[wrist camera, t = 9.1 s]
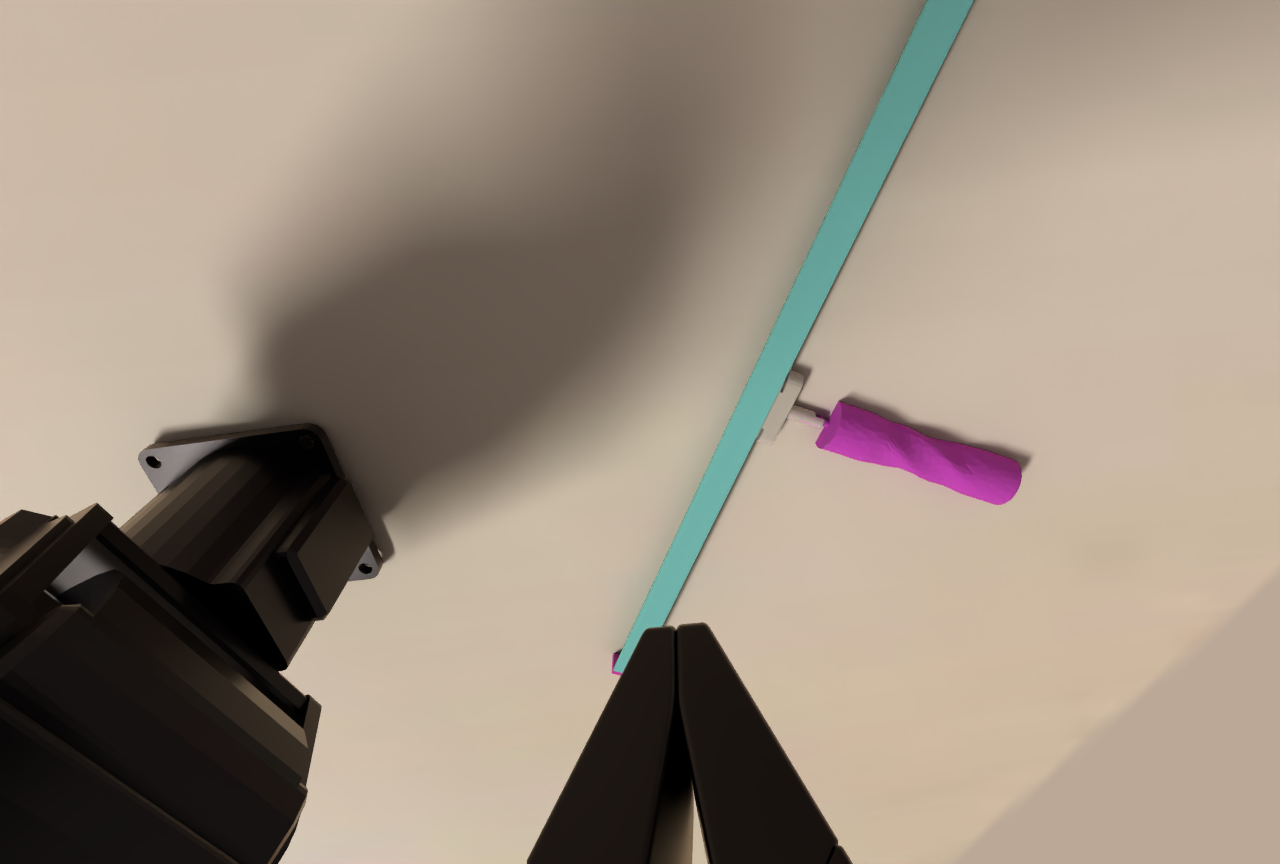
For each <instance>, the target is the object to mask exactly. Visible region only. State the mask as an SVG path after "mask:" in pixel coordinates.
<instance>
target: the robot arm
mask: <svg viewBox="0 0 1280 864" xmlns="http://www.w3.org/2000/svg"><path fill="white" fill-rule="evenodd" d="M305 436H309V437H311V438H312V439H313V440H314V442H315V443H312V442H310V441H308V440H307V439H306V438H305ZM154 456H155V457H157V458H158V459H159V460H160V461H161V462H160V461H158V460H157V459H156V458H155V457H154ZM138 460H139V463H140V465H141V466H142V468H143V470H144V471H145V473H146V474H147V476H148V478H149V479H150V481H151V483H152V484H153V486H154V487H155V489H156V491H157V492H158V495H157V496H156V497H154V498H153V499H152V500H151V501H150V502H149V503H148V504H147V505H145V506H144V507H143V508H142V509H141V510H140V511H139V512H137V513H136V514H135V515H134V516H133V517H132V518H131V519H129V520H128V521H127V522H126V523H125V524H124V525H123V526H121V527H120V528H118V527H117V526H116V525H115V524H114V523H113V522H111V520H112V519H113V517H112V516H111V515H110V514H109V513H108V512H107V511H106V510H104V509H103V508H102V507H101V506H100V505H99V504H98V503H95V504H93V505H91V506H89V507H87V508H86V509H84V510H82V511H80V512H78V513H76V514H74V515H72V516H70V517H68V516H67V515H65V516H62V517H60V518H59V517H58V516H57V515H55V516H53V517H51V516H47V515H43V514H38V513H34V512H30V511H26V510H20V511H18V512H16V513H14V514H12V515H11V516H9V517H7V518H5V519H4V520H2V521H1V522H0V864H278V863H279V861H280V860H281V858H282V856H283V855H284V853H285V851H286V850H287V848H288V846H289V843H290V841H291V839H292V837H293V835H294V833H295V830H296V827H297V824H298V820H299V817H300V814H301V812H302V810H303V808H304V806H305V803H306V798H307V792H308V790H307V787H306V783H307V778H308V773H309V768H310V763H311V758H312V753H313V748H314V743H315V738H316V733H317V728H318V723H319V718H320V713H321V705H320V704H319V703H318V702H317V701H316V700H315V699H313V698H312V697H311V696H310V695H304V694H303V693H301V692H300V691H299V690H298V689H297V688H296V687H295V686H294V685H293V684H291V683H290V682H289V681H288V680H287V679H286V678H285V677H284V676H283V675H281V674H280V673H279V672H278V671H283V670H286V669H287V667H288V666H289V664H290V662H291V661H292V659H293V657H294V656H295V654H296V652H297V651H298V649H299V647H300V646H301V644H302V642H303V641H304V639H305V637H306V636H307V634H308V632H309V631H310V629H311V627H312V626H313V624H314V622H315V621H320V620H324V619H325V618H326V617H327V615H328V614H329V612H330V611H331V609H332V607H333V606H334V604H335V602H336V600H337V599H338V597H339V595H340V594H341V592H342V590H343V588H344V587H345V585H346V583H347V582H348V581H355V580H364V579H371V578H375V577H376V576H377V575H378V573H379V571H380V570H381V568H382V565H383V563H382V559H381V557H380V555H379V552H378V550H377V548H376V546H375V543H374V541H373V533H372V531H371V529H370V526H369V524H368V522H367V520H366V517H365V515H364V513H363V511H362V508H361V506H360V504H359V501H358V499H357V497H356V495H355V492H354V490H353V488H352V486H351V483H350V482H349V481H348V480H347V479H346V478H345V475H344V473H343V471H342V469H341V466H340V464H339V462H338V459H337V457H336V455H335V453H334V450H333V448H332V446H331V444H330V441H329V439H328V437H327V435H326V433H325V432H324V430H323V429H322V428H320V427H319V426H317V425H315V424H311V423H305V424H298V425H290V426H283V427H275V428H268V429H260V430H253V431H245V432H238V433H230V434H223V435H215V436H208V437H200V438H193V439H185V440H178V441H170V442H163V443H155V444H152V445H149V446H148V447H147V448H145V449H144V450H143V451H141V453H140V454H139V456H138ZM364 563H365V564H368V565H370V566H371V567H368V566H366V565H365V564H364ZM693 790H694V795H693ZM694 796H695V801H696V806H697V812H698V817H699V822H700V827H701V832H702V837H703V842H704V847H705V852H706V857H707V863H708V864H853V863H852V862H851V860H850V858H849V857H848V855H847V853H846V852H845V850H844V849H843V847H842V846H838V839H837V838H836V836H835V834H834V833H833V831H832V829H831V828H830V826H829V824H828V823H827V821H826V819H825V818H824V816H823V814H822V813H821V811H820V809H819V808H818V806H817V804H816V803H815V801H814V799H813V798H812V796H811V795H810V793H809V791H808V790H807V788H806V786H805V785H804V783H803V781H802V780H801V778H800V776H799V775H798V773H797V771H796V770H795V768H794V766H793V765H792V763H791V761H790V760H789V758H788V756H787V755H786V753H785V751H784V750H783V748H782V746H781V745H780V743H779V741H778V740H777V738H776V737H775V735H774V733H773V732H772V730H771V728H770V727H769V725H768V723H767V722H766V720H765V718H764V717H763V715H762V713H761V712H760V710H759V708H758V707H757V705H756V703H755V702H754V700H753V698H752V697H751V695H750V693H749V692H748V690H747V688H746V687H745V685H744V684H743V682H742V680H741V679H740V677H739V675H738V674H737V672H736V670H735V669H734V667H733V665H732V664H731V662H730V660H729V659H728V657H727V655H726V654H725V652H724V650H723V649H722V647H721V645H720V644H719V642H718V640H717V639H716V637H715V635H714V634H713V632H712V631H711V629H710V627H709V626H708V625H707V624H706V623H692V624H682V625H679V626H678V627H677V630H676V629H675V628H674V627H673V626H662V627H652V628H647V629H646V630H645V631H644V632H643V634H642V635H641V637H640V639H639V641H638V643H637V645H636V647H635V649H634V651H633V653H632V655H631V657H630V659H629V661H628V663H627V665H626V667H625V669H624V671H623V673H622V675H621V677H620V679H619V681H618V683H617V684H616V686H615V688H614V690H613V692H612V694H611V696H610V698H609V700H608V702H607V704H606V706H605V708H604V710H603V712H602V714H601V716H600V718H599V720H598V722H597V724H596V726H595V728H594V730H593V732H592V734H591V736H590V738H589V740H588V741H587V743H586V745H585V747H584V749H583V751H582V753H581V755H580V757H579V759H578V761H577V763H576V765H575V767H574V769H573V771H572V773H571V775H570V777H569V779H568V781H567V783H566V785H565V787H564V789H563V791H562V793H561V795H560V796H559V798H558V800H557V802H556V804H555V806H554V808H553V810H552V812H551V814H550V816H549V818H548V820H547V822H546V824H545V826H544V828H543V830H542V832H541V834H540V836H539V838H538V840H537V842H536V844H535V846H534V848H533V850H532V852H531V853H530V855H529V857H528V859H527V864H692V848H693V817H694Z"/></svg>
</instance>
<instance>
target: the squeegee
mask: <svg viewBox="0 0 1280 864" xmlns="http://www.w3.org/2000/svg"><path fill="white" fill-rule="evenodd" d="M973 1H974V0H927V1H926V3H925V5H924V7H923V10H922V12H921V14H920V16H919V18H918V20H917V22H916V25H915V27H914V29H913V31H912V33H911V35H910V37H909V39H908V42H907V44H906V46H905V48H904V50H903V52H902V54H901V56H900V59H899V61H898V63H897V65H896V67H895V69H894V71H893V74H892V76H891V78H890V80H889V82H888V84H887V86H886V88H885V91H884V93H883V95H882V97H881V99H880V101H879V103H878V105H877V108H876V110H875V112H874V114H873V116H872V118H871V120H870V123H869V125H868V127H867V129H866V131H865V133H864V135H863V137H862V140H861V142H860V144H859V146H858V148H857V150H856V152H855V154H854V157H853V159H852V161H851V163H850V165H849V167H848V169H847V172H846V174H845V176H844V178H843V180H842V182H841V184H840V186H839V189H838V191H837V193H836V195H835V197H834V199H833V201H832V203H831V206H830V208H829V210H828V212H827V214H826V216H825V218H824V221H823V223H822V225H821V227H820V229H819V231H818V233H817V235H816V238H815V240H814V242H813V244H812V246H811V248H810V250H809V253H808V255H807V257H806V259H805V261H804V263H803V265H802V267H801V270H800V272H799V274H798V276H797V278H796V280H795V282H794V284H793V287H792V289H791V291H790V293H789V295H788V297H787V299H786V302H785V304H784V306H783V308H782V310H781V312H780V314H779V316H778V319H777V321H776V323H775V325H774V327H773V329H772V331H771V333H770V336H769V338H768V340H767V342H766V344H765V346H764V348H763V351H762V353H761V355H760V357H759V359H758V361H757V363H756V365H755V368H754V370H753V372H752V374H751V376H750V378H749V380H748V382H747V385H746V387H745V389H744V391H743V393H742V395H741V397H740V400H739V402H738V404H737V406H736V408H735V410H734V412H733V414H732V417H731V419H730V421H729V423H728V425H727V427H726V429H725V431H724V434H723V436H722V438H721V440H720V442H719V444H718V446H717V449H716V451H715V453H714V455H713V457H712V459H711V461H710V463H709V466H708V468H707V470H706V472H705V474H704V476H703V478H702V480H701V483H700V485H699V487H698V489H697V491H696V493H695V495H694V498H693V500H692V502H691V504H690V506H689V508H688V510H687V512H686V515H685V517H684V519H683V521H682V523H681V525H680V527H679V529H678V532H677V534H676V536H675V538H674V540H673V542H672V544H671V547H670V549H669V551H668V553H667V555H666V557H665V559H664V561H663V564H662V566H661V568H660V570H659V572H658V574H657V576H656V579H655V581H654V583H653V585H652V587H651V589H650V591H649V593H648V596H647V598H646V600H645V602H644V604H643V606H642V608H641V610H640V613H639V615H638V617H637V619H636V621H635V623H634V625H633V628H632V630H631V632H630V634H629V636H628V638H627V640H626V642H625V645H624V647H623V649H622V651H621V653H620V654H616V653H614V654H613V661H612V673H613V674H617V675H622V673H623V671H624V669H625V667H626V665H627V663H628V661H629V659H630V657H631V655H632V653H633V651H634V649H635V647H636V645H637V643H638V641H639V639H640V637H641V635H642V634H643V632H644V631H645V630H646V629H647V628H652V627H662V625H663V623H664V621H665V619H666V617H667V615H668V613H669V611H670V609H671V607H672V605H673V603H674V601H675V599H676V597H677V595H678V593H679V591H680V589H681V587H682V585H683V583H684V581H685V579H686V577H687V575H688V573H689V571H690V569H691V567H692V565H693V563H694V561H695V559H696V557H697V555H698V553H699V551H700V549H701V547H702V545H703V543H704V541H705V539H706V537H707V535H708V533H709V531H710V529H711V527H712V525H713V523H714V521H715V519H716V517H717V515H718V513H719V511H720V509H721V507H722V505H723V503H724V501H725V499H726V497H727V495H728V493H729V491H730V489H731V487H732V485H733V483H734V481H735V479H736V477H737V475H738V473H739V471H740V469H741V467H742V465H743V463H744V461H745V459H746V457H747V455H748V453H749V451H750V449H751V447H752V445H753V444H754V443H755V442H756V441H758V442H761V443H764V444H767V445H772V444H773V442H774V441H775V439H776V437H777V435H778V433H779V431H780V429H781V427H782V426H783V424H784V422H785V420H786V418H787V419H790V420H793V421H796V422H799V423H802V424H805V425H808V426H813V427H817V428H821V427H822V426H824V428H823V430H822V432H821V434H820V435H819V437H818V439H817V441H816V445H817V447H818V448H821V449H824V450H828V451H831V452H834V453H838V454H841V455H844V456H846V457H849V458H852V459H855V460H859V461H864V462H869V463H875V464H879V465H883V466H889V467H897V468H901V469H903V470H906V471H908V472H911V473H913V474H915V475H917V476H918V477H920V478H922V479H925V480H927V481H930V482H933V483H937V484H940V485H943V486H946V487H948V488H950V489H952V490H954V491H957V492H959V493H961V494H964V495H967V496H970V497H973V498H976V499H980V500H983V501H986V502H989V503H992V504H995V505H1001V504H1005V503H1006V502H1008V501H1009V500H1011V499H1012V498H1013V497H1014V495H1015V494H1016V492H1017V491H1018V489H1019V486H1020V483H1021V478H1022V476H1021V468H1020V465H1019V464H1018V462H1017V461H1016V460H1012V459H1009V458H1007V457H1004V456H1001V455H998V454H995V453H992V452H989V451H986V450H983V449H979V448H974V447H970V446H966V445H963V444H959V443H955V442H949V441H943V440H939V439H934V438H930V437H927V436H924V435H922V434H920V433H918V432H916V431H915V430H913V429H911V428H909V427H907V426H905V425H902V424H898V423H894V422H891V421H888V420H886V419H884V418H882V417H880V416H878V415H877V414H874V413H872V412H869V411H866V410H863V409H860V408H857V407H854V406H851V405H848V404H845V403H842V402H840V401H838V403H837V405H836V407H835V409H834V410H833V412H832V414H831V416H830V417H829V419H828V420H825V419H824V418H823V417H822V416H819V415H816V414H815V412H814V411H811V410H808V409H805V408H802V407H799V406H796V405H793V404H794V402H795V400H796V398H797V396H798V394H799V393H800V391H801V388H802V385H803V382H804V377H803V375H802V374H801V373H798V372H795V371H792V370H791V369H792V367H791V366H792V364H793V362H794V360H795V358H796V356H797V354H798V352H799V350H800V348H801V346H802V344H803V342H804V340H805V338H806V336H807V334H808V332H809V330H810V328H811V326H812V324H813V322H814V320H815V318H816V316H817V314H818V312H819V310H820V308H821V306H822V304H823V302H824V300H825V298H826V296H827V294H828V292H829V290H830V288H831V286H832V284H833V282H834V280H835V278H836V276H837V274H838V272H839V270H840V268H841V266H842V264H843V262H844V260H845V258H846V256H847V254H848V252H849V250H850V248H851V246H852V244H853V242H854V240H855V238H856V236H857V234H858V232H859V230H860V228H861V226H862V224H863V222H864V220H865V218H866V216H867V214H868V212H869V210H870V208H871V206H872V204H873V202H874V200H875V198H876V196H877V194H878V192H879V190H880V188H881V186H882V184H883V181H884V179H885V177H886V175H887V173H888V171H889V169H890V167H891V165H892V163H893V161H894V159H895V157H896V155H897V153H898V151H899V149H900V147H901V145H902V143H903V141H904V139H905V137H906V135H907V133H908V131H909V129H910V127H911V125H912V123H913V121H914V119H915V117H916V115H917V113H918V111H919V109H920V107H921V105H922V103H923V101H924V99H925V97H926V95H927V93H928V91H929V89H930V87H931V85H932V83H933V81H934V79H935V77H936V75H937V73H938V71H939V69H940V67H941V65H942V63H943V61H944V59H945V57H946V55H947V53H948V51H949V49H950V47H951V45H952V43H953V41H954V39H955V37H956V35H957V33H958V31H959V29H960V27H961V25H962V23H963V21H964V19H965V17H966V15H967V13H968V11H969V9H970V7H971V5H972V3H973Z"/></svg>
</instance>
